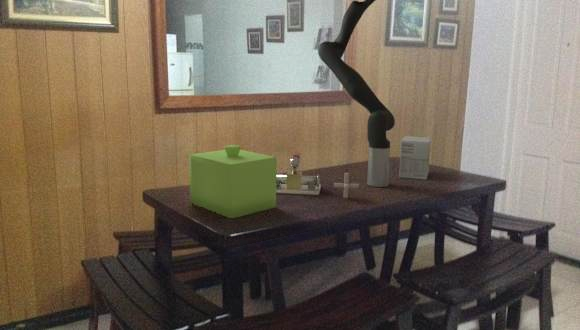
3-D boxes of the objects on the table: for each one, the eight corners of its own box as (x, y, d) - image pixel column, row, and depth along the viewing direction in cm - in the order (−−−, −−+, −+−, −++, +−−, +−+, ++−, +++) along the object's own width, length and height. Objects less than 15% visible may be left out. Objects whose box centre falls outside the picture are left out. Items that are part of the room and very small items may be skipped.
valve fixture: (320, 187, 221) (321, 165, 219) (318, 194, 209) (319, 171, 207) (270, 185, 223) (271, 163, 221) (266, 192, 211) (266, 168, 209)
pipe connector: (357, 194, 210) (358, 171, 208) (358, 201, 200) (359, 176, 198) (333, 193, 211) (334, 170, 209) (333, 200, 201) (333, 175, 199)
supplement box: (427, 180, 239) (429, 142, 235) (398, 177, 243) (400, 140, 239) (428, 172, 255) (431, 137, 251) (402, 170, 259) (404, 135, 255)
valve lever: (298, 168, 212) (298, 158, 211) (289, 167, 212) (289, 158, 212) (301, 161, 226) (301, 152, 226) (293, 161, 227) (293, 152, 226)
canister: (190, 204, 193) (189, 144, 189) (234, 194, 208) (234, 139, 203) (231, 219, 176) (230, 153, 171) (276, 207, 191) (276, 147, 186)
